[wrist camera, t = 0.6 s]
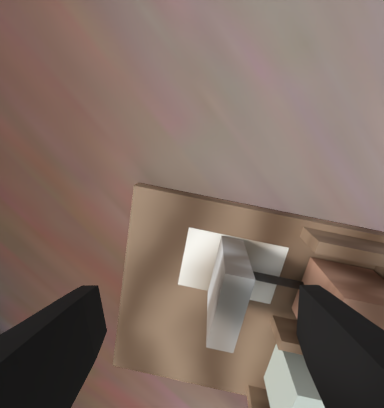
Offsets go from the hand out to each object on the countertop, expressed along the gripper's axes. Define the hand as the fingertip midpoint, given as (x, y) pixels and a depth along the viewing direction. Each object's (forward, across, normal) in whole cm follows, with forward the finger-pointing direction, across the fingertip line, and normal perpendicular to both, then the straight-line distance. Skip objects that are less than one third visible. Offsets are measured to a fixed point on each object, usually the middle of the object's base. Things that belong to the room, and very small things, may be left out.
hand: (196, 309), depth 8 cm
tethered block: (+9, -6, +5) cm, 12 cm away
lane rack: (+10, -2, +8) cm, 13 cm away
